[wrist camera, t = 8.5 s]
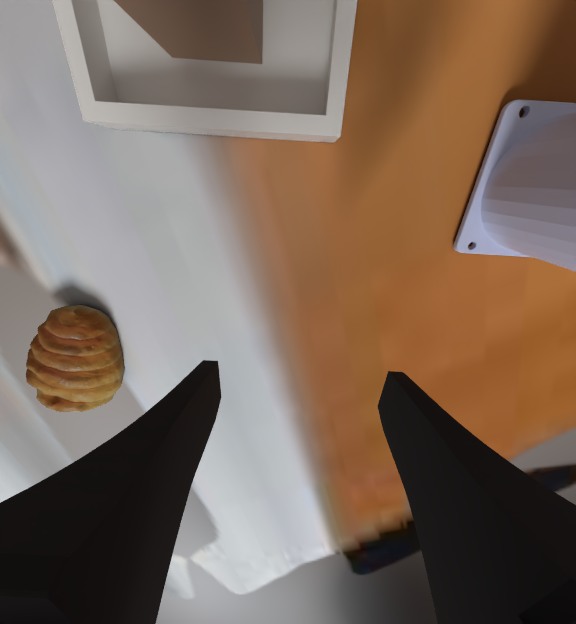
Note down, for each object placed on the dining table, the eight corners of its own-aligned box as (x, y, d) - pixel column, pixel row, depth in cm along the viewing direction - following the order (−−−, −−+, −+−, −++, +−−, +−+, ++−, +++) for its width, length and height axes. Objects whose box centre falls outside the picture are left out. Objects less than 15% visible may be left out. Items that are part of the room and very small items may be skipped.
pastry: (46, 286, 20) (-5, 309, 16) (135, 314, 21) (105, 341, 17) (52, 373, 24) (12, 405, 21) (126, 393, 25) (100, 427, 22)
